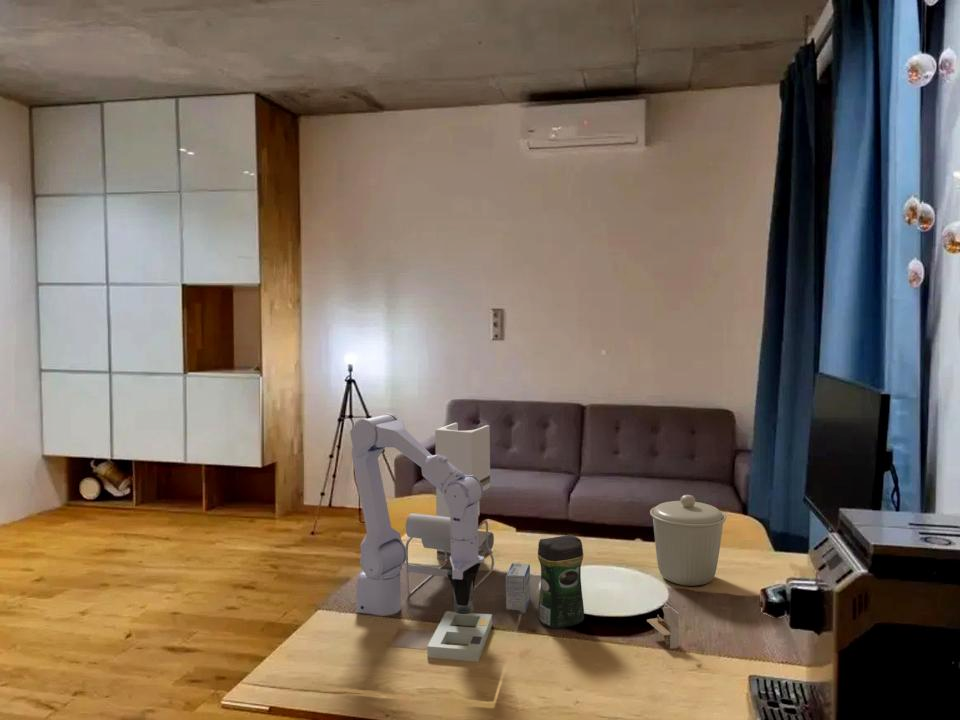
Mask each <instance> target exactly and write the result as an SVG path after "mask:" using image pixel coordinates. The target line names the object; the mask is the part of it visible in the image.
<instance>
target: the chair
mask: <svg viewBox="0 0 960 720" xmlns="http://www.w3.org/2000/svg"><path fill="white" fill-rule="evenodd" d="M484 524H485V530H486V531H484V530H480V528H481V527H482V526H483V525H484ZM405 533H406V536H407V537H408V539H407V540H406V543H405V547H406V550H407V559H406V561H405V577H406V579H405V580H406V594H407V595H408V596H412V595H413V594H414V593H415V592H416V591H417V590H418V588H419V587H420V586H421V585H422V584H423V583H424V584H426V583H427V582H428V581H429V580H430V579H431V578H432V577H434V576H437V577H444V578H448V576H447V573H448V571H449V570H450V569H444V567H446V565H447V562H448V560H447V552H446V550H447V551H451V542H450V541H451V539H450V517H444V516H439V515H432V514H425V513H415V512H414V513H413V512H411V513H409V514H408V516H407V518H406V522H405ZM414 538H415V539H420V540H421V544H422V546H423V548H425V549H431V550H437V549H439V550H444V552H445V559H444V561H443V563H442V565H440V567H438V568H437V567H429V566H424V565H423V566H422V565H416V564H415V565H414V564H409V543H410V542H411V540H412V539H414ZM494 540H495V536H494V533H493V532H491V531H489V521H488V520H486V519H485V520H482V521H481V522H480V524H478V549H479V550H487V551H488V553H489V556H490V558H491V565H490V570H489V571H488V572H487V573H486V574H485V575H484V576H483V577H482V578H481V579H480V580H479V581H478V582H477V583H475V585H474V589H475V588H476V587H477V586H478V585H479V584H480V583H481V584H482V583H483V582H484V581H485V580H486V579H487V577H489V575H490V574H491V573H493V571H494V566H495V559H494V556H493V553H492V552H491V550H492V549H493V547H494V543H495V541H494ZM409 573H413V574H414V573H415V574H421V575H422V574H423V575H429V576H427V577H426V578H425V579H424V580H423V581H422V582H421V583H420V584H419V585H417V586H416V587H415V588H414V589H412V590H411V591H410V583H409V581H410V580H409ZM433 575H434V576H433ZM429 578H430V579H429ZM428 579H429V580H428ZM427 580H428V581H427ZM426 581H427V582H426ZM424 584H423V585H424ZM481 584H480V585H481ZM423 585H422V586H423ZM480 585H479V586H480ZM422 586H421V587H422ZM479 586H478V587H479ZM421 587H420V588H421ZM478 587H477V588H478ZM420 588H419V589H420ZM477 588H476V589H477ZM416 589H417V590H416ZM476 589H475V590H476ZM415 590H416V591H415ZM414 591H415V592H414ZM413 592H414V593H413ZM412 593H413V594H412ZM411 594H412V595H411Z"/></svg>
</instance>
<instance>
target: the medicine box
mask: <svg viewBox="0 0 960 720" xmlns="http://www.w3.org/2000/svg"><path fill="white" fill-rule="evenodd" d="M505 600H506V601H505V605H506V610H512V611H519V614H525V615H526V612H527V610H528V606H529V604H530V601H531V565H530V564H529V563H520V562H519V563H518V562H515V563H514V562H513V563H511V565H510V567H509V570H508V571H507V574H506V576H505Z"/></svg>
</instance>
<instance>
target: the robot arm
mask: <svg viewBox="0 0 960 720" xmlns="http://www.w3.org/2000/svg"><path fill="white" fill-rule="evenodd" d="M349 434H350V439H351V443H352V447H351V448H352V449H351V459H352V464H353V469H354V474H355V479H356V484H357V489H358V494H359V499H360V503H361V504H360V505H361V509H362V510H361V511H362V514H363V519H364V525H365V529H366V534H365V536H364V537H363V539H362V541H361V542H360V545H359V547H360V556H359V558H360V559H359V562H360V568H361V569H362V571H361V572H360V573H359V574H358V577H357V581H356V588H355V589H356V613H359V614H367V615H368V614H370V615H373V616H392V615H395V614H397V613H399V612H400V611H401V609H402V594H401V591H402V589H401V588H402V587H401V586H402V585H401V584H402V582H401V571H402V570H403V564H404V563H405V564H406V559H407V550H406V544H404V542H403V540H402V536H401V532H399V531H398V530H396V529H394V527H392V524H391V523H392V522H391V519H390V518H391V517H390V514H389V508H388V503H387V498H386V494H385V488H384V483H383V480H382V479H383V478H382V473H381V467H380V463H379V457H380V456H381V454H382V453H383V452H384V451H385V449H386V448H394V449H396V450H397V451H398V452H400V453H401V454H402V455H404V456H405V457H407V458H408V459H409V460H411V461H412V462H413V463H415V464H416V465H417V466H419V467H420V468H421V476H422V477H423V478H424V479H425V480H427V481H428V482H429V483H430V484H431V485H432V486H434V487H435V489H436V488H437V489H438V490H440V491H441V492H442V493H443V494H444V499H445V502H446V504H447V505H448V508H449V514H450V539H451V541H450V542H451V556H450V560H449V562H450V565H451V568H452V569H448V570H449V571H448V573H447V576H448V577H447V578H448V580H449V582H450V584H451V586H452V588H453V594H454V593H455V597H456V601H457V604H458V605H463V606H467V605H468V602H469V598H470V590H471V585H472V581H473V592H474V591H475V590H474V587H475V586H476V578H477V574H478V571H479V568H480V567H481V564H482V563H484V561H485V556H479V555H478V531H479V529H478V526H479V517H478V503H476V502H478V501H479V502H480V500H481V499H482V498H483V496H484V491H483V487H482V484H481V483H480V481H479V480H478V479H477V478H476V477H475V476H473V475H465V474H464V473H463V472H462V471H459V470H458V469H457V468H455V467H454V466H453V465H452V464H451V463H449V462H448V461H447V460H448V458H447V457H445V456H441V455H436V454H432V453H430V451H428V449H426V448H425V447H424V446H423V445H422V443H420V442H419V440H417V439H416V438H415V437H414V436H413V435H412V434H411V433H410V432H409V431H408V430H407V429H406V428H405V424H404V422H403V421H402V420H400V419H398V417H397V416H396V415H394V414H393V413H384V414H381V415H377V416H373V417H368V418H362V419H361V418H360V419H358V420H357V421H356V422H355V423H354V425H353V426H352V428H351V429H350V431H349ZM474 503H475V504H474Z"/></svg>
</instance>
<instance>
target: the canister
mask: <svg viewBox="0 0 960 720" xmlns="http://www.w3.org/2000/svg"><path fill="white" fill-rule="evenodd" d="M649 514H650V516H651V517H652V521H653V522H652V523H653V533H654V535H653V536H654V543H655V553H656V559H657V560H656V561H657V568H658V570H659V574H660V575H661V576H662V578H664V579H665V580H666V581H668V582H671V583H674V584H676V585H681V586H688V587H694V586H695V587H696V586H702V585H703V586H704V585H706V584H708V583H710V582H712V581H713V580H714V578H715V575H716V573H717V568H718V562H719V558H720V557H719V555H720V550H721V543H722V534H723V529H724V528H723V527H724V523H725V522H726V520H727V515H726V514H725V512H724V511H722V510H720V509H718V508H717V507H715V506H713V505H711V504H708V503H705V502H698V501H696V498H695V497H694V496H693V495H690V494H684V495H682V496H681V497H680V500H673V501H665V502H662V503H659V504H658V505H656V506H654V507H652V508H650V511H649Z"/></svg>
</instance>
